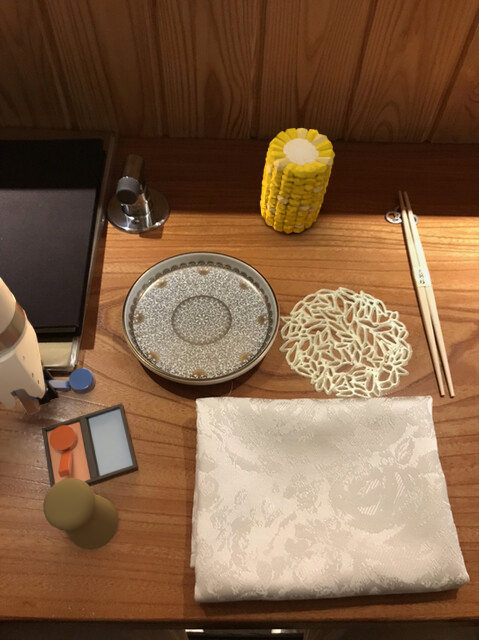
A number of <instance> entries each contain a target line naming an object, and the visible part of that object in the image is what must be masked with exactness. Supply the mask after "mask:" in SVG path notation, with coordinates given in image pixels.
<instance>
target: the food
mask: <svg viewBox="0 0 479 640" xmlns="http://www.w3.org/2000/svg"><path fill="white" fill-rule="evenodd" d="M333 148H334V147H333V144H332V142H331V141H330V140H329V139H328V137H327V135H325V134H320V133H319V131H318V129H311V128H310V129H309V130H308V129H307V128H303V127H300V128H297V129H296V128H295V127H293V128H287V129H286V130H285V131H283V130H281V131H280V132H279V133H278V134H276V136H275V137H274V138H273V139H272V140H271V141H270V142H269V146H268V148H267V150H268V151H266V157H265V163H264V164H265V165H264V168H263V175H262V178H263V179H262V181H261V195H260V199H261V200H260V201H259V206H260V213H261V217H262V218H263V220H265V223H266V225H267V226H268V227H272V228H273V229H274V231H275V232H279V233H282V232H284V233H285V234H287V235H288V234H291V233H295V234H300V233H301V232H303V231H305V229H309V228H311V227H312V225H313V223H316V221H317V219H318V217H319V213H320V210H321V207H322V204H323V203H324V196H325V194H326V193H327V187H329V181H330V179H329V178H330V177H331V173H332V171H331V170H332V168H333V165H334V158H335V156H336V154H335V152H334V150H333Z"/></svg>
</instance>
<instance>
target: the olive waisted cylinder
mask: <svg viewBox="0 0 479 640" xmlns="http://www.w3.org/2000/svg"><path fill="white" fill-rule="evenodd" d="M42 505H43V507H42V508H43V514H44V517H45V519H46V522H48V523H49V524H50V525H51V526H52V527H54V528H55V529H58V530H59V531H64V532H65V533H66V535H67V536H68V537H69V539H70V540H71V542H73V544H75V546H77V547H79V548H81V549H84V550H95V549H100V548H101V547H103V546H105V545H107V544H108V543H109V542H110V541H111V540H112V539H113V538H114V536H115V534H116V532H117V531H118V527H119V521H120V520H119V512H118V509H117V507H116V505H115V503H113V502H112V501H111V500H110V499H109V498H106V497H104V496H102V495H99V494H96V493H95V492H94V490H93V488H92V487H91V486H89V485H88V484H87V483H86V482H84V481H82V480H80V479H75V478H68V479H63V480H61V481H59V482H57V483H55V484H54V485H53V486H52V487H51V486H50V487H49V489H48V491H47V493H46V495H45V496H44V500H43V503H42Z"/></svg>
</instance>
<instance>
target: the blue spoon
mask: <svg viewBox="0 0 479 640" xmlns="http://www.w3.org/2000/svg"><path fill="white" fill-rule="evenodd" d="M44 382H49V383H50V384H51V386H52V387H53V388H54V389H55V391H56V392H69V391H70V389H72V391H74V392H75V393H76V394H79V395H83V394H84V395H85V394H88V393H90V392H91V391H92V390H93V389H94V387H95V386H96V377H95V375H94V374H93V372H92V371H91V370H90V369H88V368H85V367H80V368H76V369H75V370H73V371H72V372H71V374H70V375H69V377H68V380H61V379H55V380H44Z"/></svg>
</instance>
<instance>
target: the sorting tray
mask: <svg viewBox="0 0 479 640" xmlns="http://www.w3.org/2000/svg"><path fill="white" fill-rule="evenodd" d="M63 425H66V426H70V427H71V428H72V429H73V430H74V431H75V432H76V433H77V435H78V443H77V445H76V447H75V448H74V449H73V450H72V451H71V452H72V455H73V456H72V464H71V472H70V475H67V476H64V477H60V475H59V473H58V471H59V465H60V459H61V453H59V452H57V451H56V450H55V449H54V448H53V447H52V446H51V445H50V435H51V433H52V432H53V430H54V429H56V428H57V427H59V426H63ZM41 434H42V440H43V445H44V447H43V448H44V453H45V459H46V465H47V471H48V472H47V473H48V479H49V485H50V488H51V487H52V486H53V485H54V484H55V483H57V482H59V481H61V480H63V479H68V478H75V479H80V480H82V481H84V482H86V483H87V484H88V485H89V486H90V487H91V486H93V485H97V484H100V483H103V482H105V481H109V480H113V479H115V478H118V477H120V476H121V477H122V476H124V475H126V474H130V473H133V472H136V471H138V470H139V465H138V462H137V457H136V453H135V449H134V445H133V440H132V437H131V432H130V427H129V424H128V420H127V416H126V411H125V407H124V405H123V403H122V402H120V403H117V404H115V405H114V404H113V405H111V406H109V407H104V408H102V409H99V410H96V411H92V412H89V413H86V414H82V415H80V416H77V417H73V418H70V419H66V420H64V421H60V422H58V423H53V424H52V425H51V424H50V425H48V426H45V427H42V428H41Z"/></svg>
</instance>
